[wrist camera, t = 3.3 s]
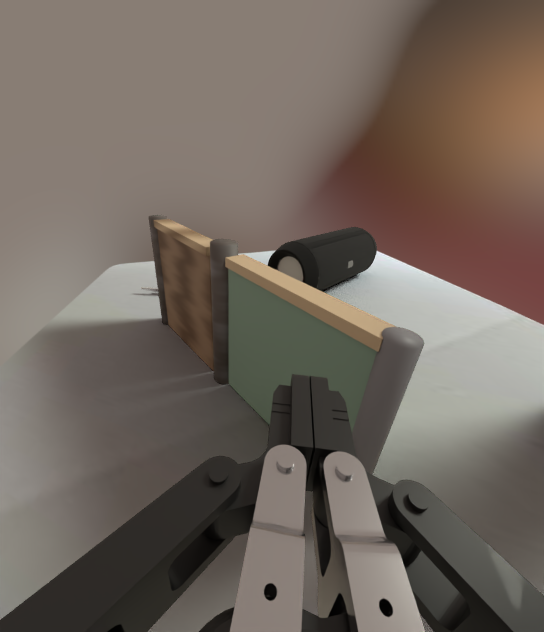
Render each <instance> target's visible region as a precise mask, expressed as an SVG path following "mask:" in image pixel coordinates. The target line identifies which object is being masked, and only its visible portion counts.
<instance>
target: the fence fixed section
mask: <svg viewBox="0 0 544 632" xmlns="http://www.w3.org/2000/svg"><path fill="white" fill-rule="evenodd" d="M149 223H150V231H151V239H152V246H153V254H154V262H155V269H156V277H157V285H158V292H159V300H160V308H161V315H162V322H163V324H166V325H169V326H170V327H171V328H172V329H173V330H174V331H175V332H176V333H177V334H178V335H179V337H180V338H181V339H182V340H183V341H184V342H185V343H186V344H187V345H188V346H189V347H190V348H191V349H192V350H193V351H194V352H195V353H196V354H197V355H198V356H199V357H200V358H201V359H202V360H203V361H204V362H205V363H206V364H207V365H208V366H209V367H210V368H211V369H212V371H214V379H215V381H216V382H218V383H220V384H229V280H228V268H227V267H225V257H231V256H237V255H238V242H236V241H234V240H229V239H216V240H212V239H210V238H208V237H206V236H203V235H201V234H199V233H197V232H195V231H193V230H191V229H189V228H187V227H184V226H182V225H180V224H178V223H176V222H174V221H172V220H169V219H167V218H166V216H161V215H153V216H149Z"/></svg>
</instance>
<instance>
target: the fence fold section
mask: <svg viewBox="0 0 544 632" xmlns="http://www.w3.org/2000/svg"><path fill="white" fill-rule="evenodd" d="M225 267H227V268H228V280H229V384H230V385H231V387H232V388H233V389H234V390H235V391H236V392H237V393H238V394H239V395H240V396H241V397H242V398H243V399H244V400H245V401H246V402H247V403H248V404H249V405H250V406H251V407H252V408H253V409H254V410H255V411H256V412H257V413H258V414H259V415H260V416H261V417H262V418H263V419H264V420H265V421H266V422H267V423H268V424H269V425H270V418H271V409H272V401H273V393H274V391H275V390H276V388H277V387H278V386H279V385H287V386H290V384H291V377H292V374H297V375H306V376H309V377H310V376H315V377H324V378H327V379H328V386H329V390H331V391H339V393H340V394H341V396H342V397H343V398H344V400H345V402H346V407H347V413H348V417H349V422H350V427H351V432H352V437H353V442H354V446H355V451H356V456H357V458H358V460H359V461H360V462H361V464H362V465H363V467H364V469H365V470H366V471H367V472H369V473H370V474H371V475H372V474H373V471H374V469H375V466H376V464H377V461H378V459H379V456H380V454H381V451H382V449H383V446H384V444H385V441H386V439H387V436H388V434H389V431H390V429H391V426H392V424H393V421H394V419H395V416H396V414H397V411H398V409H399V406H400V404H401V401H402V399H403V396H404V394H405V391H406V389H407V386H408V383H409V381H410V378H411V376H412V373H413V371H414V368H415V366H416V363H417V361H418V358H419V356H420V353H421V351H422V348H423V346H424V341H423V339H422V338H421V337H420V336H419V335H418V334H416V333H414V332H412V331H410V330H408V329H404V328H400V327H396V326H394V325H392V324H390V323H387V322H385V321H383V320H381V319H379V318H377V317H375V316H373V315H370V314H368V313H366V312H364V311H362V310H360V309H358V308H356V307H354V306H351V305H349V304H347V303H345V302H343V301H341V300H339V299H337V298H335V297H332V296H330V295H328V294H326V293H324V292H322V291H320V290H318V289H316V288H313V287H311V286H309V285H307V284H305V283H303V282H301V281H299V280H297V279H294V278H292V277H290V276H288V275H286V274H284V273H282V272H280V271H278V270H275V269H273V268H271V267H269V266H267V265H265V264H263V263H261V262H258V261H256V260H254V259H252V258H250V257H248V256H246V255H244V254H242V255H237V256H231V257H225Z"/></svg>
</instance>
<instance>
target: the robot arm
mask: <svg viewBox="0 0 544 632" xmlns="http://www.w3.org/2000/svg"><path fill="white" fill-rule="evenodd" d="M305 490H307V491H313V506H312V510H311V519H312V528H313V537H314V547H315V556H316V565H317V574H318V596H317V605H318V616H316V615H314V614H312V613H310V612H308V611H306V610H304V609H302V604H303V582H304V559H305V534H304V531H303V527H304V507H305ZM248 532H249V536H248V541H247V547H246V552H245V557H244V562H243V567H242V572H241V577H240V582H239V587H238V592H237V597H236V602H235V607H233V608H230V609H228V610H226V611H224V612H222V613H220V614H219V615H217V616H216V617H214V618H213V619H212V620H211V621H209V622H208V623H207V624H206V625H205V626H204V627H203V628H202V629H201V630H200V631H199V632H425V629H424V626H423V623H422V620H421V617H420V614H421V615H422V617H423V618H424V619H425V620H426V622H427V623H428V624H429V626H430V627H431V628H432V629H433V631H434V632H544V595H543V594H541V593H540V592H539V591H538V590H537V589H536V588H535V587H534V586H533V585H532V584H531V583H530V582H528V581H527V580H526V579H525V578H524V577H523V576H522V575H521V574H520V573H519V572H518V571H517V570H515V569H514V568H513V567H512V566H511V565H510V564H509V563H508V562H507V561H506V560H505V559H503V558H502V557H501V556H500V555H499V554H498V553H497V552H496V551H495V550H494V549H493V548H492V547H490V546H489V545H488V544H487V543H486V542H485V541H484V540H483V539H482V538H481V537H480V536H479V535H477V534H476V533H475V532H474V531H473V530H472V529H471V528H470V527H469V526H468V525H467V524H465V523H464V522H463V521H462V520H461V519H460V518H459V517H458V516H457V515H456V514H455V513H454V512H452V511H451V510H450V509H449V508H448V507H447V506H446V505H445V504H444V503H443V502H442V501H441V500H439V499H438V498H437V497H436V496H435V495H434V494H433V493H432V492H431V491H430V490H428V489H427V488H426V487H425V486H423V485H422V484H420V483H418V482H415V481H411V480H402V481H399V482H398V483H397V484H396V485H392V484H390V483H388V482H385V481H383V480H381V479H379V478H377V477H375V476H373V475H371V474H370V473H369V472H367V471H366V470H365V469H364V467H363V465H362V464H361V462H360V461H359V460H358V458H357V456H356V451H355V446H354V442H353V437H352V432H351V427H350V422H349V417H348V413H347V407H346V402H345V400H344V398H343V397H342V396H341V394H340V393H339V391H331V390H329V386H328V379H327V378H324V377H315V376H310V377H309V376H306V375H297V374H292V377H291V384H290V386H287V385H279V386H278V387H277V388H276V390H275V391H274V393H273V401H272V409H271V418H270V428H269V438H268V447H267V449H266V451H265V453H264V454H263V455H262V456H261V457H260V458H258V459H257V460H254V461H252V462H248V463H243V464H237V463H236V462H235V461H234V460H233V459H231V458H229V457H225V456H216V457H212V458H210V459H208V460H207V461H205V462H204V463H202V464H201V465H200V466H199V467H197V468H196V469H195V470H193V471H192V472H191V473H190V474H188V475H187V476H186V477H184V478H183V479H182V480H180V481H179V482H178V483H177V484H175V485H174V486H173V487H171V488H170V489H169V490H168V491H166V492H165V493H164V494H162V495H161V496H160V497H159V498H157V499H156V500H155V501H153V502H152V503H151V504H149V505H148V506H147V507H146V508H144V509H143V510H142V511H140V512H139V513H138V514H137V515H135V516H134V517H133V518H131V519H130V520H129V521H128V522H126V523H125V524H124V525H122V526H121V527H120V528H118V529H117V530H116V531H115V532H113V533H112V534H111V535H109V536H108V537H107V538H106V539H104V540H103V541H102V542H100V543H99V544H98V545H96V546H95V547H94V548H93V549H91V550H90V551H89V552H87V553H86V554H85V555H84V556H82V557H81V558H80V559H78V560H77V561H76V562H75V563H73V564H72V565H71V566H69V567H68V568H67V569H65V570H64V571H63V572H62V573H60V574H59V575H58V576H56V577H55V578H54V579H53V580H51V581H50V582H49V583H47V584H46V585H45V586H44V587H42V588H41V589H40V590H38V591H37V592H36V593H34V594H33V595H32V596H31V597H29V598H28V599H27V600H25V601H24V602H23V603H22V604H20V605H19V606H18V607H16V608H15V609H14V610H13V611H11V612H10V613H9V614H7V615H6V616H5V617H3V618H2V619H1V620H0V632H147V631H148V630H149V629H150V628H151V627H152V626H153V625H154V624H155V623H156V621H157V620H158V619H159V618H160V617H161V616H162V615H163V614H164V613H165V612H166V611H167V610H168V609H169V607H170V606H171V605H172V604H173V603H174V602H175V601H176V600H177V599H178V598H179V597H180V596H181V595H182V593H183V592H184V591H185V590H186V589H187V588H188V587H189V586H190V585H191V584H192V583H193V582H194V581H195V579H196V578H197V577H198V576H199V575H200V574H201V573H202V572H203V571H204V570H205V569H206V568H207V567H208V565H209V564H210V563H211V562H212V561H213V560H214V559H215V558H216V557H217V556H218V555H219V554H220V553H221V551H222V550H223V549H224V548H225V547H226V546H227V545H228V544H229V543H230V542H231V541H232V540H233V538H234V537H235V536H237V535H241V534H244V533H248ZM419 613H420V614H419Z"/></svg>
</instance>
